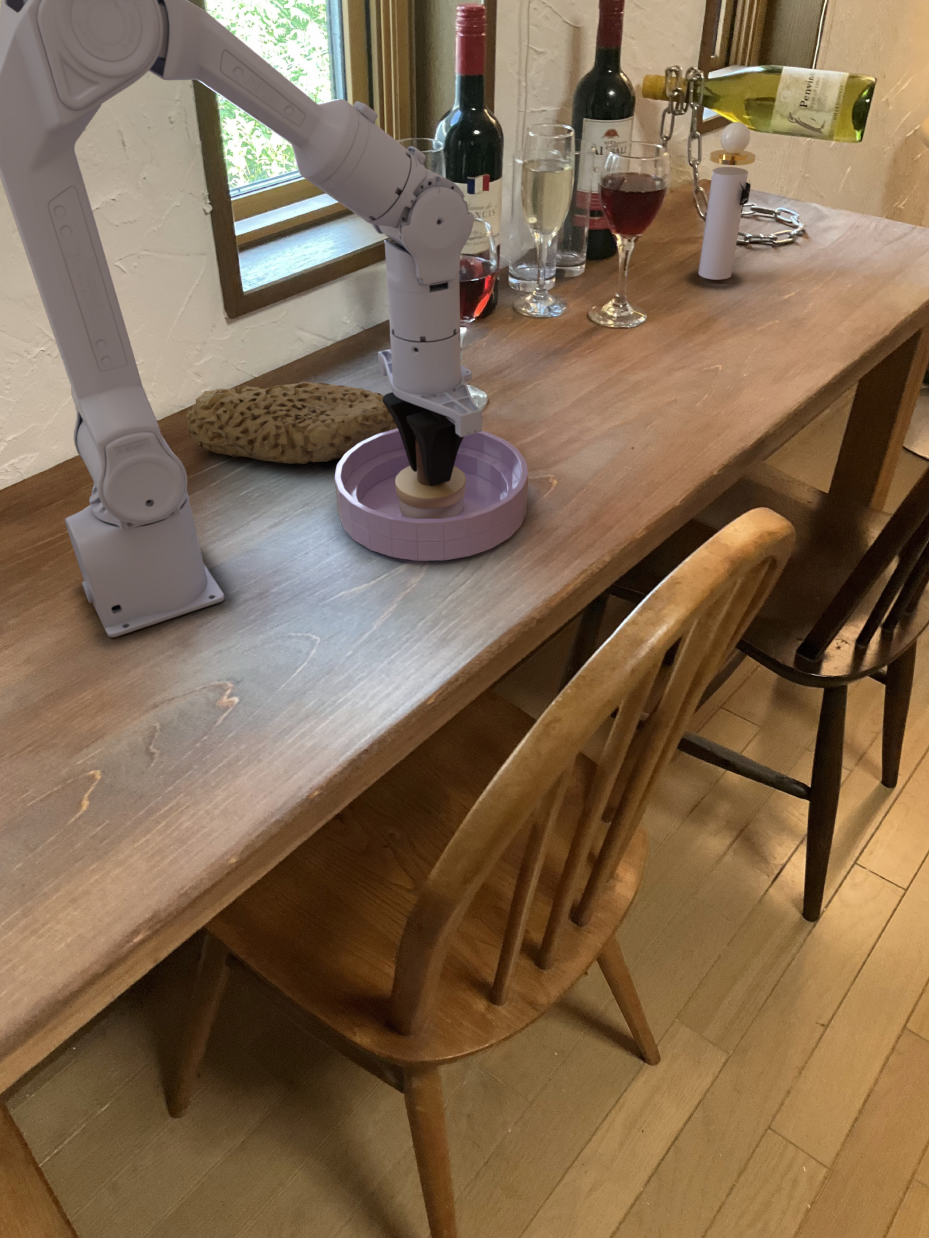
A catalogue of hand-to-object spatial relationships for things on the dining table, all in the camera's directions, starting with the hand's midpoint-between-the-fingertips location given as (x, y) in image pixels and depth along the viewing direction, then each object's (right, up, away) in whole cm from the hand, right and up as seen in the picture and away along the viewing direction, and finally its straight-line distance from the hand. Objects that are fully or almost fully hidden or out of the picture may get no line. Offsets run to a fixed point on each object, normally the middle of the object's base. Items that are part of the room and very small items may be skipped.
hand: (430, 474), depth 86 cm
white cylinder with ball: (+38, +35, +48) cm, 71 cm away
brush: (0, -3, +2) cm, 3 cm away
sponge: (-14, +4, +12) cm, 18 cm away
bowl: (0, -3, +2) cm, 4 cm away
